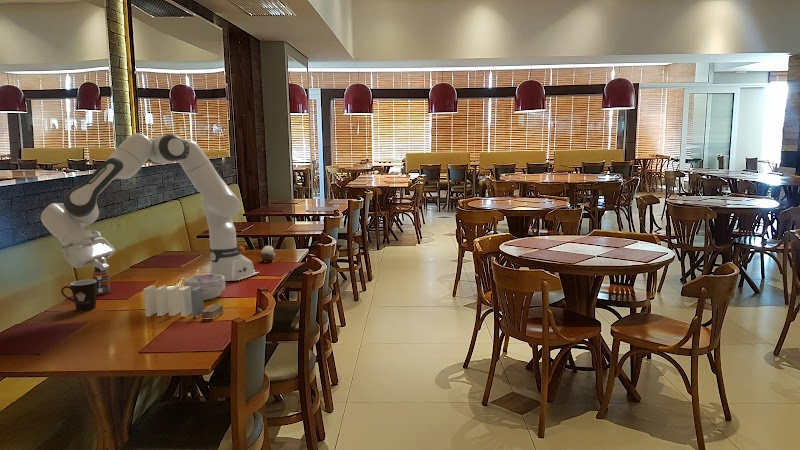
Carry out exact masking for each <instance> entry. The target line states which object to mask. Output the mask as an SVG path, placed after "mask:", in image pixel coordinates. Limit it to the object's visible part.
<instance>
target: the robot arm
mask: <svg viewBox="0 0 800 450" xmlns="http://www.w3.org/2000/svg"><path fill="white" fill-rule="evenodd" d="M147 161H148V162H149V163H151V164H155V165H161V164H162V165H163V164H169V163H173V162H177V163H179V165H180V166H181V168H182V170H183V171H184V173H185V174H186V176H187V177H188V179H189V181H190V182H191V184H192V185H193V187H194V188H195V190H197V191H198V192H199V194H200V195H201V196H202V199H201V204H202V207H203V210H204V214H205V218H206V223H207V227H208V233H209V246H210V247H209V259H210V270H209V274H217V275H223V276H224V277H225V281H230V280H240V279H243V278H247V277H250V276H252V275H255V274H257V273H260V271H258V272H255V271H257V270H255V267H254V264H253V261H252V260H251V259H249V258H247V257H246V256H245V255H243V254H241V252H244V251H245V247H244V246H242V245H240V246H238V245H237V233H236V226H235V225H234V222H233V218H232V217H234V216H236V215H238V213H239V212H240V210H241V208H242V207H241V205H242V204H241V200H240V198H238V196H236V195H235V193H234V192H233V191H232V190H231V187H229V185H228V184H227V183H226V182H225V181H224V180H223V178H222V177H221V176H220V175H219V173H218V172H217V171H216V169H215V167H214V165H213V163H212V162H211V161H210V159H209V157H208V156H207V154H206V153H205V151H204V150H203V149H202V148H201V147H200V145H199V144H198V143H197V142H196V141H195V140H193V139H186V140H185V139H184V138H182V137H180V135H177V134H171V133H167V134H164V135H159V136H156V137H152V138H149V137H148V136H147V135H145V134H144V133H140V132H139V133H138V132H136V133H132V134H131V135H130V136H129V137H127V138H126V139H124V140H123V141H122V142H121V143H120V144H119V145H118V146H117V147H116V148H115V150H114V151H113V152H112V153H111V154H110V155H109V156H108V158H107V159H106V160H105V161H104V162H103V163H102V164H101V165H99V166H98V168H96V169H95V170H94V171H93V172H92V174H90V175H89V177H87V178H86V179H85V180H84V181H83V182H82V183H80V184H79V185H77V186H74V187H73V188H70V189H69V190H67V191H66V193H65V194H64V196H63V200H62V201H63V202H62V203H61V202H60V203H59V202H57V203H56V202H53V203H50V204H48V205H47V206H46V207H45V208H44V209H43V210H42V212H41V215H40V221H41V222H42V224H43V226H44V227H45V228H46V229H47V231H49V233H50V234H51V235H52V236H53V237H55V238H57V239H58V240H59V242H60V244H62V246H61V247H60V252H61V253H62V254H63V257H64V258H65V260H66V261H67V262H68V263H69V265H71V267H73V268H75V269H79V268H83V267H85V266H88V265H92V266H93V267H94V268H95V267H97V268H99V269H100V270H101V271H104V270H108V269H109V268H110V265H109V264H108V263H107V259H109V258H111V257H112V256H113V255H114V254H115V253H116V249H115V247H114V246H113V245H112V244H111V243H110V242H109V241H108V240H107V239H106V238H104V237H102V234H101V232H100V231H97V230H90V229H85V228H86V227H88V226H90V225H92V224H93V223H95V222H96V221H98V218H99V217H100V209H99V206H98V197H99V195H100V194H101V193H102V192H103V191H104V190H105V189H106V188H107V187H108V186H109V185H110V184H111V182H112V181H114V180H116V179H118V180H129V179H131V178H132V177H134V175H136V174H137V173H138V172H139V171H140V170H141V169H142V167H143V166H144V165H145V163H146V162H147Z"/></svg>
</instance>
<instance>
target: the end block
mask: <svg viewBox="0 0 800 450" xmlns="http://www.w3.org/2000/svg"><path fill="white" fill-rule="evenodd" d="M222 312H223V313H224V305H223V304H211V305H210V306H207V307H206V308H204V310H203V311H202V316H201V319H202V318H214V317H216V316H217V315H219V314H221V313H222ZM221 315H222V314H221Z"/></svg>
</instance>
